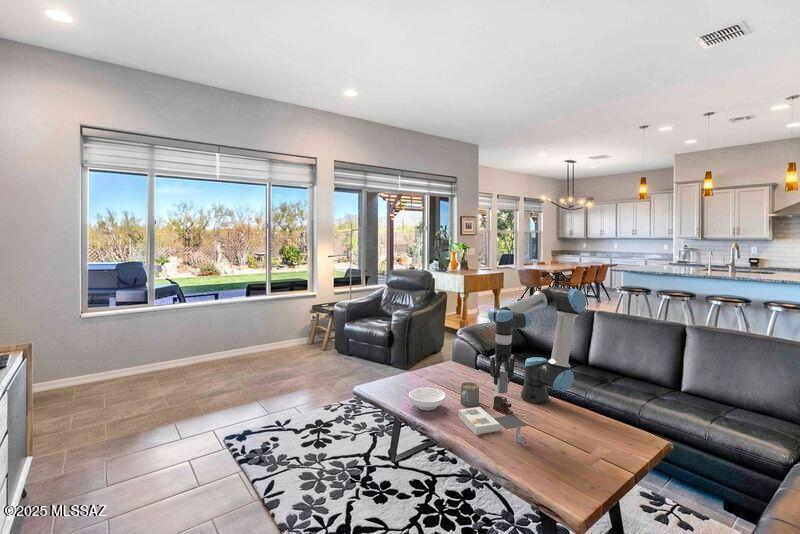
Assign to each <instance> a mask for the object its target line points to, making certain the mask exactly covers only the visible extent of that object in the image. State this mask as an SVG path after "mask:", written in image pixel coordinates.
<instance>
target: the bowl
mask: <svg viewBox="0 0 800 534" xmlns="http://www.w3.org/2000/svg"><path fill="white" fill-rule="evenodd" d="M408 399H409V402H411V404H413V405H415V406H416V407H417V408H418V409H420V410H422V411H434V410H435V409H436V408H438V407H439V406H441V405H443V404H444V402H445V401H446V393H445V392H444V391H443V390H441V389H437V388H433V387H419V388H414V389H412V390H411V391H409V393H408Z"/></svg>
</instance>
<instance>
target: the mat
mask: <svg viewBox="0 0 800 534" xmlns="http://www.w3.org/2000/svg"><path fill="white" fill-rule="evenodd" d="M493 418H494V419H495V420H496V421H497V422H498V423H500V425H501V427H503V428H504V429H505V430H509V429H510V430H511V429H515V428H518V426H519V427H520V428H521V427H522V428H523V427H528V424H526V422H524V421H523V420H522V419H520V418H519V417H518V416H516V415H515V414H512V415H509V414H508V415H504V416H496V417H493Z"/></svg>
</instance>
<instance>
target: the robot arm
mask: <svg viewBox="0 0 800 534" xmlns="http://www.w3.org/2000/svg"><path fill="white" fill-rule="evenodd" d="M586 299H587V298H586V296H585V293H584V292H583V291H582V290H581V289H580V290H579V289H577V288H570V287H568V288H567V287H563V286H551V287H547V288H543V289H539V290H537V291H535V292H534V293H533V294H532V295H530V296H528V297H525V298H523V299H519V300H518V301H515V302H513V303H512V302H511V303H510V304H508V305H505V306H503V307H500V308H498V307H492V308H490V309H489V311H488V313H487V318H488V320H489V321H490V322H492V323H494V324H495V340H494V341H495V342H494V354H493V355H489V365H490V366H489V367H490V368H489V375H490V377H492V378H493V385H494V392H495V391H496V392H497V393H498V392H499V383H500V378H498V376H499V372H500V369H501V367H502V365H503V367H504V370H505V371H506V372H508V386H507V392H508V391H509V384H510V379H511V378H512V377H513V376H514V373H515V372H514V371H515V360H516V358H517V356H516V355H514V354H512V340H513V339H512V337H513V330H518V329H519V330H520V329H522V330H523V329H525V328H529V327H530V325H531V324H532V318H531V316H530V314H529V313H530V312H533V311H535V310H537V309H545V308H546V307H548V308H549V307H550V308H554V309H555V312H556V313H557V320H556V321H557V322H556V327H555V333H554V339H553V344H552V352H551V357H550V358H549V359H548V360H547V358H544V357H539V356H538V357H537V356H536V357H529V358H526V359H525V361H524V380H523V381H524V382H523V387H522V389H521V392H520V399H522V400H523V401H525V402H527V403H529V404H530V403H531V404H535V405H536V404H538V405H542V404H546V403H548V402H549V401H550V396H549V392H548V389H547V387H549V388H551V389H554V390H556V391H561V392H565V391H567V390H569V388H571V386H572V385H573V382H574V379H575V375H574V372H573V371H572V370H571V365H570V363H569V360H570V354H571V353H570V352H571V347H572V342H573V335H574V329H575V322H576V318H578V317H579V316H580V314H581V313H582V312H584V311H585V309H586V306H587V300H586Z"/></svg>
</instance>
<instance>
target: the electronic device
mask: <svg viewBox="0 0 800 534" xmlns="http://www.w3.org/2000/svg"><path fill="white" fill-rule="evenodd" d="M510 408H512V403H510V402H508V399H507V397H506V396H500V395H496V396H494V397H493V406H492V409H493V410H495V411H498V412H501V413H504V414H506V415H509V414H511V413H513V411H514V410H513V409H510Z"/></svg>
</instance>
